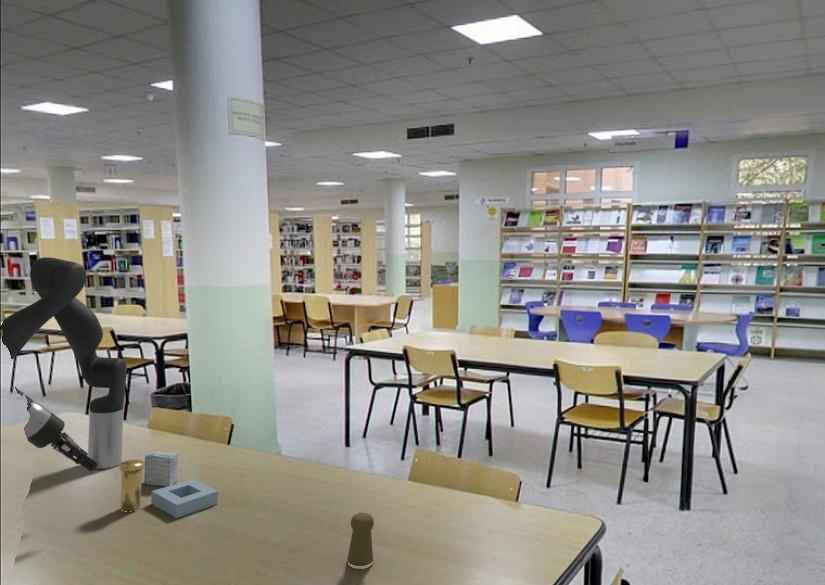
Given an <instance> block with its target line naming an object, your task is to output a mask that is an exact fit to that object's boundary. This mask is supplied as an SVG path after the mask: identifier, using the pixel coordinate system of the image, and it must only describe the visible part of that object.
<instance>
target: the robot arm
mask: <svg viewBox="0 0 825 585" xmlns="http://www.w3.org/2000/svg"><path fill="white" fill-rule="evenodd" d="M29 279H30V283H31V285H32V287H33V290H34V291H35V292H36V293H37V295H38V296H39V297H40V299H38V300H36V301H35V302H33V303H31V304H29V305H28V306H26V307H24V308H22V309H19V310H18V311H15V312H13V313H12V314H10V315H9V316H7V317H5V318H4V319H3V320H2V321H3V323H2V325H1V326H0V327H2V331H3V336H2V342H3V344H4V345H6V347H7V348H8V350H9V352H10V355H11V359H12V360H14V359H15V358H16V357H17V356H18V354H19V353H20V352H21V350H22V349H23V348H24V347H25V345H26V344H27V343H29V341H30V339H31V338H32V337H33V336H34V335H35V334H36V333H37V332H39V330H40V329H41V328H42V327H43V326H44V325H45V324H46V323H48V321H50V320H51V319H52V318H53V317H54V320H55V321H56V323H57V324H58V326H59V328H60V330H61V332H62V334H63V336H64V338H65V340H66V342H67V343H68V345H69V346H70V348H71V350H72V352H73V354H74V356H75V358H76V361H77V363H78V365H79V369H80V371H81V374H82V377H83V379H84V381H85V383H86V384H87V385H88V386H89V387H91V388H99V389H100V388H101V389H103V388H104V389H108V394H106V395H104V396H103V395H102V396H100V397H96V398H94V399H91V401H90V402H89V414H88V421H89V422H88V445H87V446H88V447H87V451H85V450H84V449H82V448H81V446H80V445H79V444H78V443H76V442H75V441H74V439H73V438H72V437H70V435H69V434H67V432H65V431H64V429H65V421H63V419H62V418H60V417H58V416H57V415H56V414H54V413H53V412H52V411H51V410H49V409H48V408H46V407H45V406H44V405H42V404H40V403H39V402H37V401H35V400H33V399H32V398H31V397H30V396H28V395H27V394H25V393H24V392H23V391H21V390H20V389H18V388H17V387H16V386H15V389H16V391H17V393H18V394H20V395H21V396H23V394H25V396H26V399H27V402H28V403H27V405H28V407H27V411H28V412H29V414H30V418H29V421H28V423H27V424H26V425H25V427H24V431H25V435H26V437H27V439H28V441H27V442H29V443H30V444H32V445H33V446H35V447H36V448H38V449H43V448H45V447H47V446H49V445H50V446H51V447H52V448H53V450H54V451H55V452H57V453H60V454H61V455H63V456H64V457H65V458H66V459H69V460H71V461H73V462H74V463H75V464H76V465H81V466H82V467H84V468H85V469H86V470H88V471H89V472H92V471H94V469H95V470H104V469H111V468H116V467H117V466H120V463H122V462H123V461H122V459H123V458H122V455H123V454H122V453H123V429H124V428H123V427H124V424H123V423H124V405H125V404H124V403H125V397H126V384H127V372H128V369H127V368H128V367H127V363H126V361H125V359H123V358H120V357H106V356H105V357H101V356H98V355H97V354H96V350H97V349H98V347H99V346H100V344H101V343H102V341H103V337H104V330H103V328H102V325H101V323H100V320H99V319H98V317H97V315H96V314H95V313H94V311H93V310H92V309H91V308H90V307H88V306H87V305H86V304H84V302H82V301H81V300H80V299H78V298H77V296H78V295H79V294H80V293H81V292H82V290H83V289H84V287H85V285H86V283H87V271H86V269H85V267H84V266H83V265H82V264H80V263H78V262H75V261H71V260H65V259H62V258H61V259H60V258H56V257H51V256H50V257H47V256H46V257H45V256H44V257H40V258H38V259H36V260H35V261H34V262H33V263H32V264H31V267H30V270H29ZM12 360H11V361H12Z"/></svg>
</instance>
